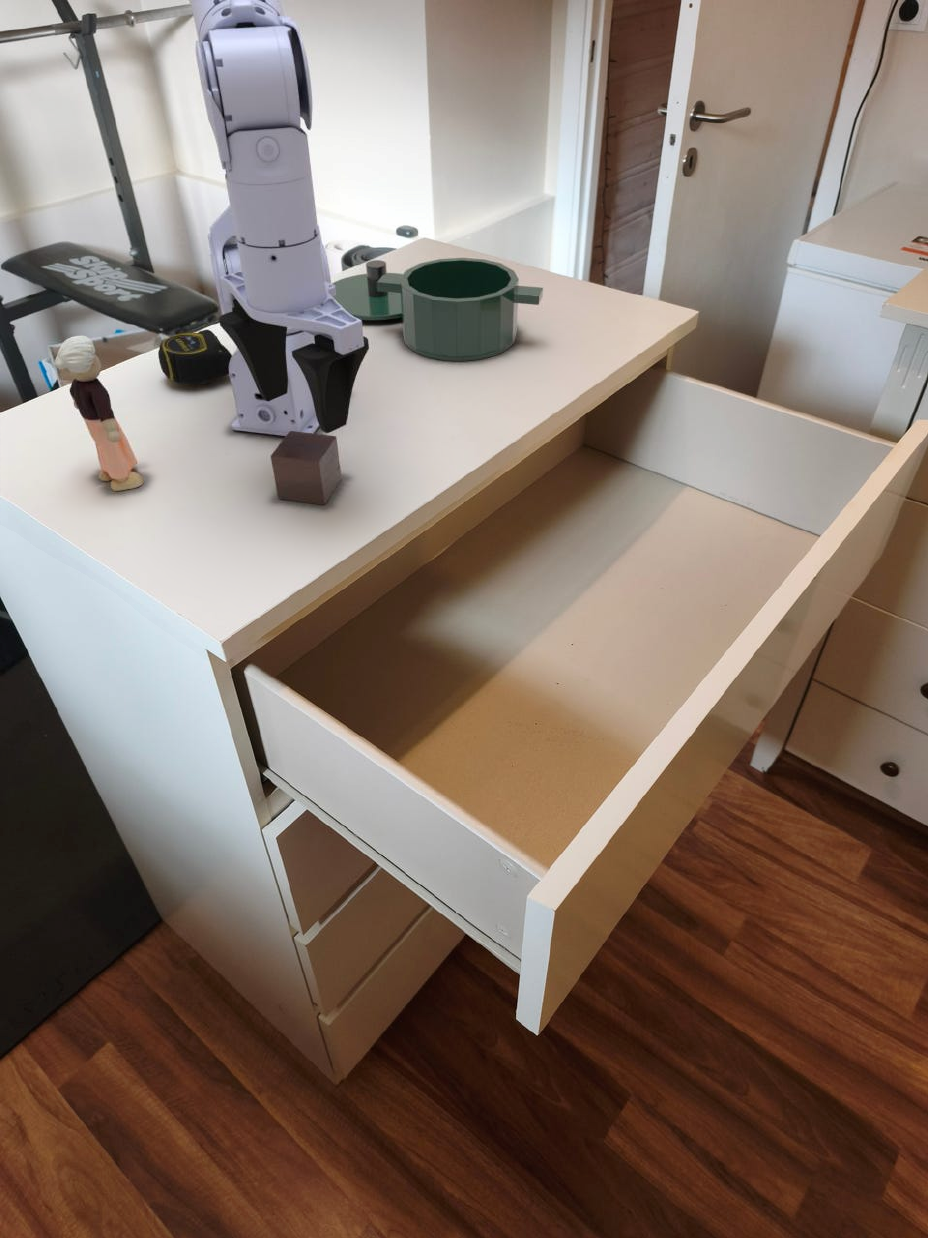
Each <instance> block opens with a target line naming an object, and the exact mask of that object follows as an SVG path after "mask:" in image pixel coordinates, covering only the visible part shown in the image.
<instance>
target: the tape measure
mask: <svg viewBox="0 0 928 1238" xmlns="http://www.w3.org/2000/svg"><path fill="white" fill-rule="evenodd" d="M157 355H158V360H159V365H160V369H161V371H162V372H163V374H164V375H165V377H166V378H168V379H169V380H171V381H172V382H174V383H176V384H181V385H190V386H191V385H203V384H207V383H209V382H212V381H215V380H217V379H220V378H223V377H226V376H229V363H230V360H231V357H232V356H233V354H232V353H231V352H230V350H229V349H228V348H227V347H226V346H224V345H223V344H222V343H221V341H220V340H219V339H218V336H217V335H215V333H214V332H213V331H212V330H210V329H203V330H200V331H198V332H182V333H178V334H174V335H171V336H169V337H167V338H165V339H164V340H163V341H162V342H161V343H160V345H159V348H158V352H157Z"/></svg>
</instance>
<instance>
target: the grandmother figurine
mask: <svg viewBox="0 0 928 1238" xmlns="http://www.w3.org/2000/svg"><path fill="white" fill-rule="evenodd" d="M54 366H55V368H57V369H58V370H59V371H60V370H64V369H65V370H67V372H68V374H69V375H70V376H71V378H73V380H72V381H71V384H70V387H69V394H70V397H71V398H72V399H71V400H72V401H73V407H74V408H75V409H77V410H78V411H79V414H80V415H81V417H82V419H83V420H84V423H85V425H86V428H87V430H88V433H89V435H90V437H91V439H92V440H93V442H94V443H95V444H94V445H95V449H96V454H97V459H98V463H99V466H100V469H101V470H100V471H99V472H98V479H99V480H101V481H102V482H109V481H110V484H109V485H110V489H111V490H112V491H114V492H120V491H125V490H132V489H137V488H138V487H140V486H142V485H143V484H144V478H143V476H142V475H141V474H140V473H138V472H136V471H132V469H134V468H135V467H136V466H137V464H138V460H137V458H136V456H135V453H134V451H133V449H132V447H131V444H130V443H129V440H128V438H127V436H126V435H125V433H124V430H123V429H122V427H121V426H120V423H119V422H118V420H117V418H116V417H115V412H114V411H113V408H112V403H111V402H112V401H111V397H110V394H109V391H108V390H107V389H106V387H105V386H104V385H103V384H102V382H101V381H100V380H99V378H98V377H99V376H100V374H101V371H102V362H101V360H100V358H99V356H98V355H97V354H96V348H95V345H94V342H93V341H92V339H91V338H90V337H88V336H86V335H75V336H71V337H69V338H67V339H65V340H64V341H63V342H62V343H61V345H60V346H59V348H58V351H57V356H56V357H55V360H54Z"/></svg>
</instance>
